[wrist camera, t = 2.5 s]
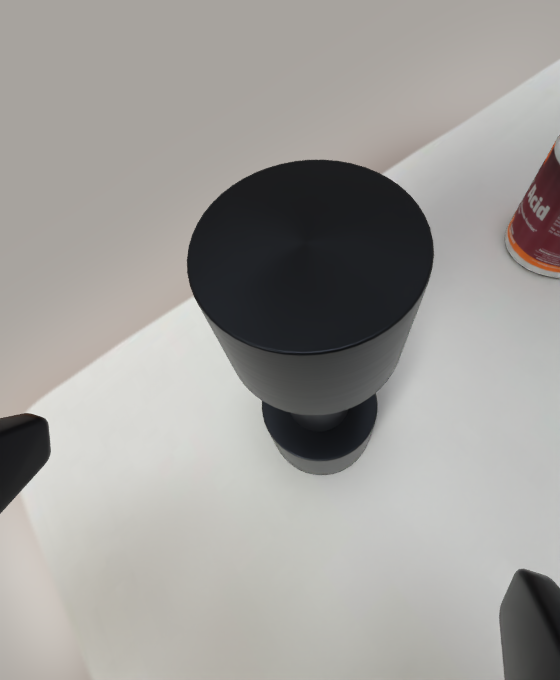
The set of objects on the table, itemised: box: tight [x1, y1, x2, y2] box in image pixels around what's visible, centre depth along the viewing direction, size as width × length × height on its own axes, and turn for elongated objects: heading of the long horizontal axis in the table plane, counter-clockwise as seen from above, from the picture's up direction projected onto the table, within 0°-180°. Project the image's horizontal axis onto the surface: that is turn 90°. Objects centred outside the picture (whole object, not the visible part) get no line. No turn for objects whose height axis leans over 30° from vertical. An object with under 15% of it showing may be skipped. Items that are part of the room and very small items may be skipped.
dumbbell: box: [187, 160, 434, 475], centre depth 13 cm, size 5×5×13 cm
